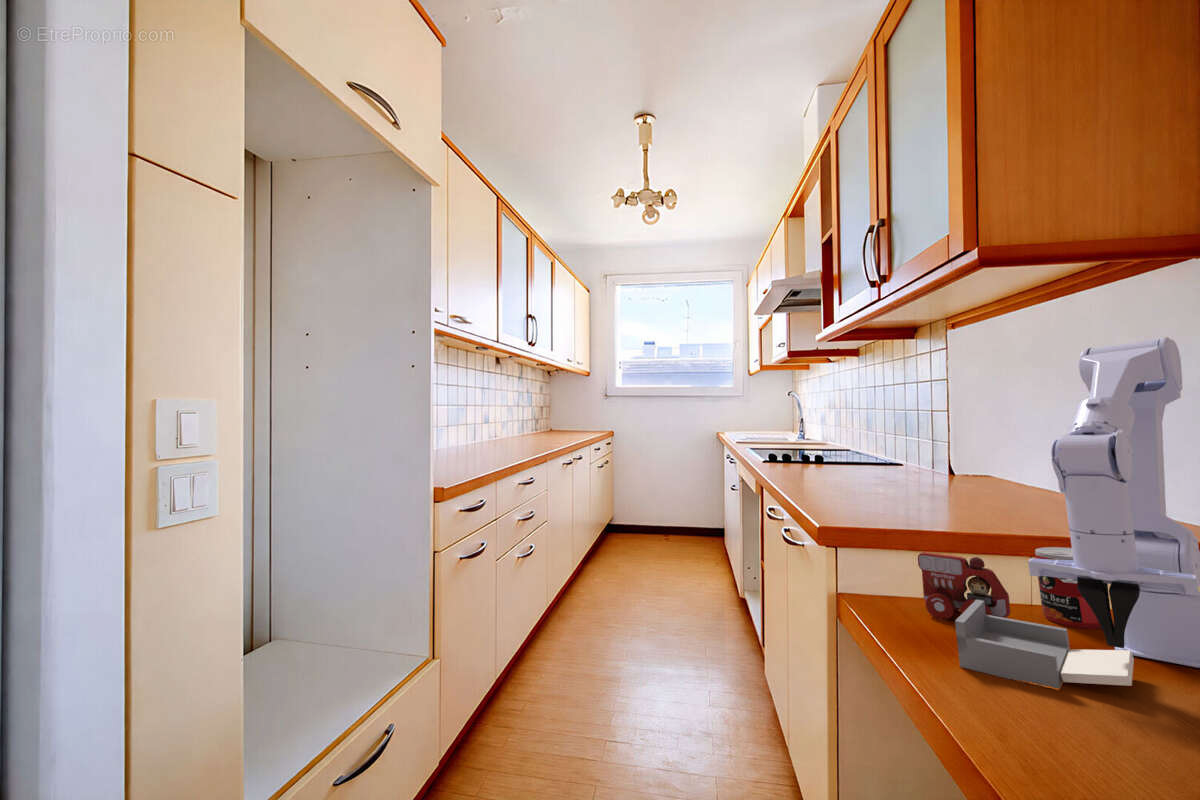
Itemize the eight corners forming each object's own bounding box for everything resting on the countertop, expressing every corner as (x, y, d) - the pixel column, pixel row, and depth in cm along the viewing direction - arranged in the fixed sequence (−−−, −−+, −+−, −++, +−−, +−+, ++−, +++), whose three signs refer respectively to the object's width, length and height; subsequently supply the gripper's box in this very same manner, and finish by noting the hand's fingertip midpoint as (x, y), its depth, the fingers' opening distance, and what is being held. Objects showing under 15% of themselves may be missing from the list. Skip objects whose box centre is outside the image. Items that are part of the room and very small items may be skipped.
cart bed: (1070, 659, 68) (1065, 613, 69) (1059, 691, 60) (1053, 639, 61) (980, 640, 76) (976, 599, 76) (960, 666, 68) (955, 620, 68)
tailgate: (1073, 660, 67) (1135, 662, 63) (1064, 685, 61) (1133, 689, 57) (1068, 649, 67) (1130, 650, 63) (1059, 673, 61) (1127, 676, 57)
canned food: (1030, 613, 85) (1022, 547, 86) (1079, 612, 85) (1070, 546, 86) (1071, 630, 78) (1061, 558, 79) (1124, 628, 77) (1114, 555, 78)
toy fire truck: (1006, 633, 78) (998, 565, 79) (916, 615, 87) (910, 554, 88) (1016, 621, 82) (1008, 557, 83) (929, 605, 92) (924, 547, 93)
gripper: (1019, 530, 65) (1032, 639, 64) (1192, 543, 54) (1212, 673, 53) (1028, 522, 70) (1041, 623, 68) (1189, 532, 59) (1207, 652, 58)
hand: (1116, 644), depth 61 cm, fingers closed
